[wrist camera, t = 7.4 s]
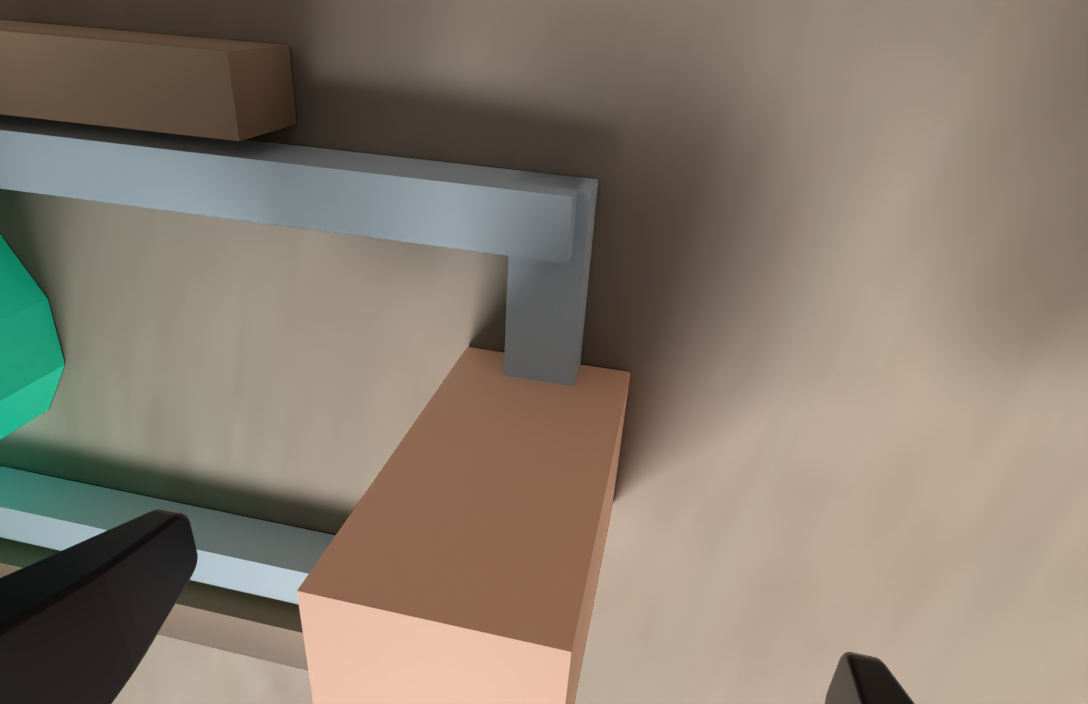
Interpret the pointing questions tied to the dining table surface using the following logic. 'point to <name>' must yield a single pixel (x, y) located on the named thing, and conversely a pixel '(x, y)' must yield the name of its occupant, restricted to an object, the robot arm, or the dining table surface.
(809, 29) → the dining table surface
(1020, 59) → the dining table surface
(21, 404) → the candle
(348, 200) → the frame
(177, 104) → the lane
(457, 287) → the dining table surface
